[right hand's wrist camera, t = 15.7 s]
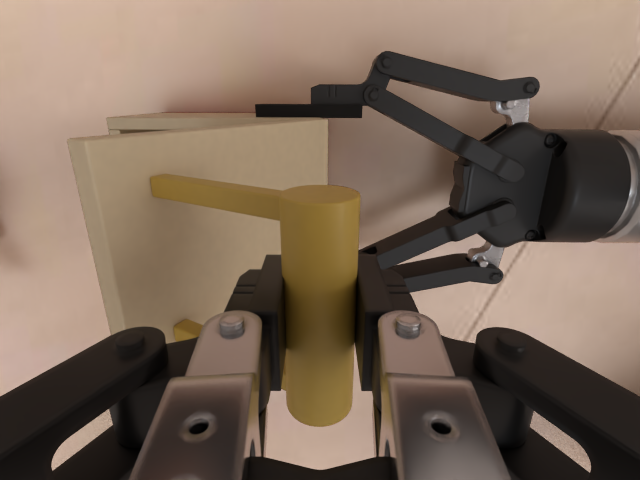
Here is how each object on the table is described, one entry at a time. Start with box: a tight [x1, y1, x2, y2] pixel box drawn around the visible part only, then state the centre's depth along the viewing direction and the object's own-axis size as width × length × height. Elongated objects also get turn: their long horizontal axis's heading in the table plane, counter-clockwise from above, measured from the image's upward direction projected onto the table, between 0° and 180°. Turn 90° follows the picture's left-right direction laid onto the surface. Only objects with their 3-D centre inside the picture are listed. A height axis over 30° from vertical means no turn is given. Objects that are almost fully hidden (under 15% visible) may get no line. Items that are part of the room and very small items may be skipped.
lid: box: [67, 119, 360, 427], centre depth 16 cm, size 14×9×8 cm
